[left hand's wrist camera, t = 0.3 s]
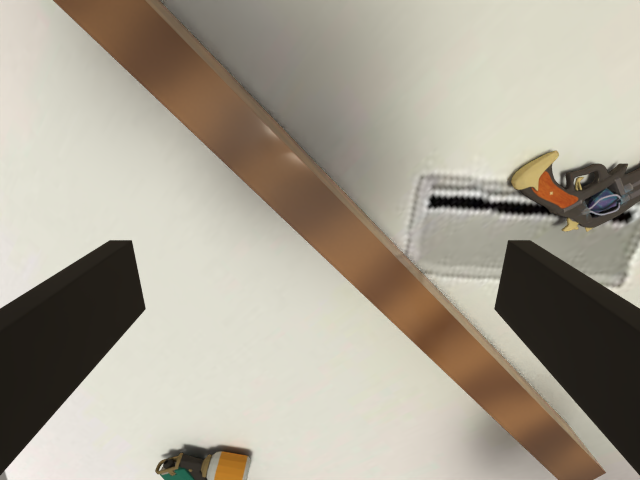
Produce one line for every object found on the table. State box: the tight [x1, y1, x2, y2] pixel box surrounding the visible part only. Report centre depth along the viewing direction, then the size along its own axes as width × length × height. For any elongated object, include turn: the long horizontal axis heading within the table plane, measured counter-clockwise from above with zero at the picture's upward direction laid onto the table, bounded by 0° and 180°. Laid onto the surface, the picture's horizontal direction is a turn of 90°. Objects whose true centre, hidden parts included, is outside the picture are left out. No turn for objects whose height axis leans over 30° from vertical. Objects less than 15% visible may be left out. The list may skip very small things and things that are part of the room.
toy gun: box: [511, 151, 640, 232], centre depth 37 cm, size 3×19×10 cm
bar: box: [53, 0, 606, 480], centre depth 38 cm, size 80×5×7 cm, turn 44°
